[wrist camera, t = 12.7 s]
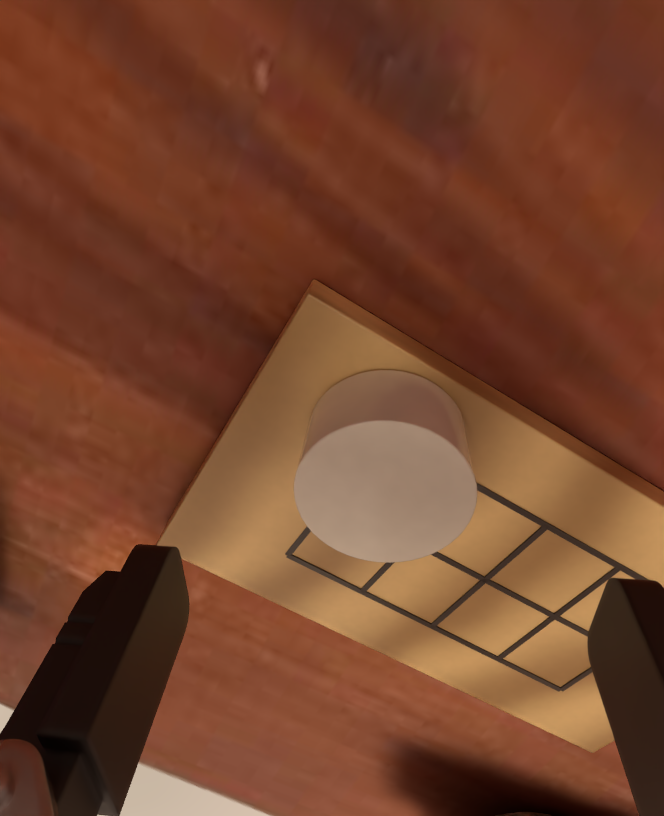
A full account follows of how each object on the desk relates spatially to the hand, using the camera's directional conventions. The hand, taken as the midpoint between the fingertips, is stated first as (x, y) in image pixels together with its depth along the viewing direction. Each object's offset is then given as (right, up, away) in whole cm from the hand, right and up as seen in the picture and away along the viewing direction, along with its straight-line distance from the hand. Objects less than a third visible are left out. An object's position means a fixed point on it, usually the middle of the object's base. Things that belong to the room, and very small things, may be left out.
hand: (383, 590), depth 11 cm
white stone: (+1, +3, +6) cm, 6 cm away
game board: (+4, -2, +9) cm, 10 cm away
